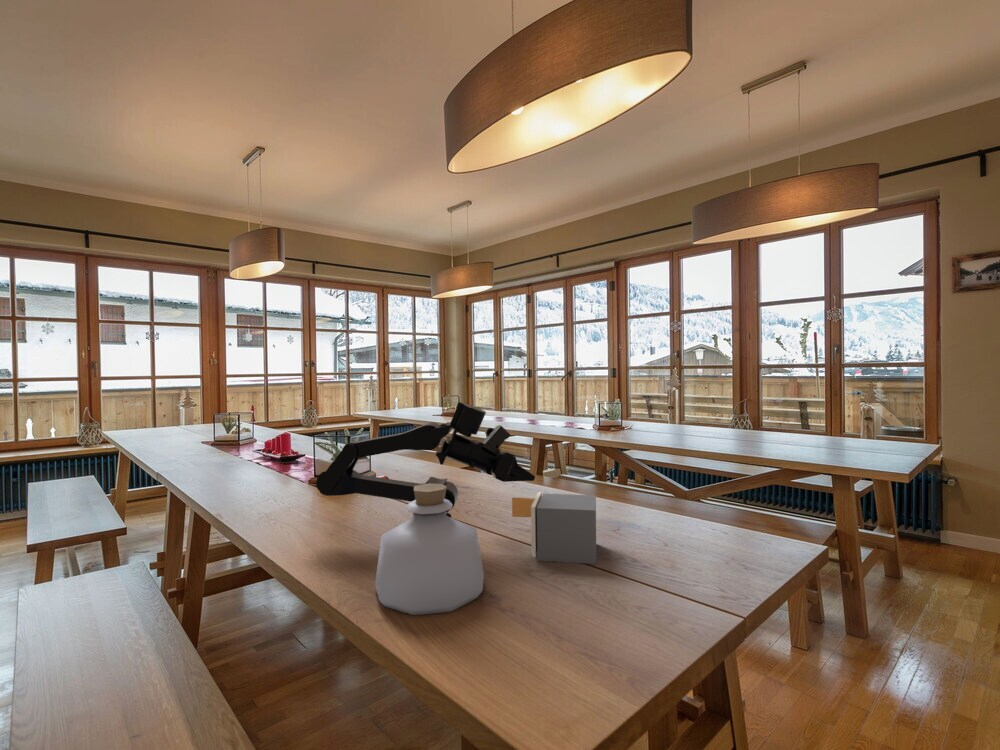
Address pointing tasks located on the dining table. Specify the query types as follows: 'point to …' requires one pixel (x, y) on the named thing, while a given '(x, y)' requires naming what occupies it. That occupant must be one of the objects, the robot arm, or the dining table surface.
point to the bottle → (429, 558)
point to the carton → (566, 528)
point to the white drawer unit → (528, 515)
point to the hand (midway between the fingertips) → (529, 476)
